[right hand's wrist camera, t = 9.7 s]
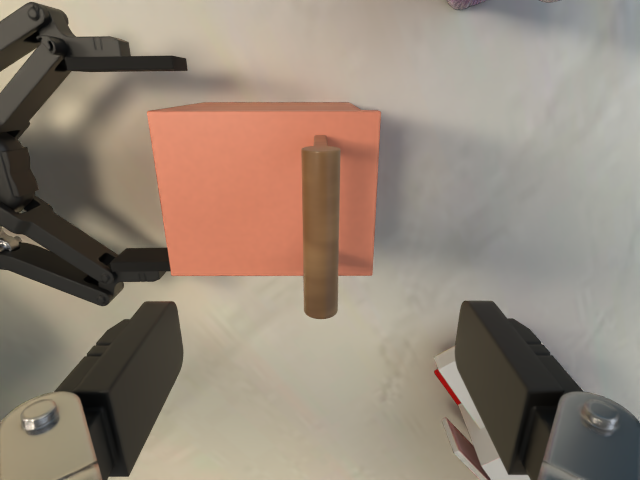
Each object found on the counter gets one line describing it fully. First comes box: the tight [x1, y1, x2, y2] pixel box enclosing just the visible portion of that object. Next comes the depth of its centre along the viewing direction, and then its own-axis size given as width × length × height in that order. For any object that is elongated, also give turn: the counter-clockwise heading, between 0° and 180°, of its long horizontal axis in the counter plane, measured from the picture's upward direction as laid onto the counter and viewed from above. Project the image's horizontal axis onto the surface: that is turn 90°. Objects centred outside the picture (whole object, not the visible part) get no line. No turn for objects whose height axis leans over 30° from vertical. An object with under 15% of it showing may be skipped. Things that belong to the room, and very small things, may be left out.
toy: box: [434, 346, 530, 480], centre depth 40 cm, size 12×13×30 cm
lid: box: [147, 110, 381, 319], centre depth 21 cm, size 13×10×8 cm
